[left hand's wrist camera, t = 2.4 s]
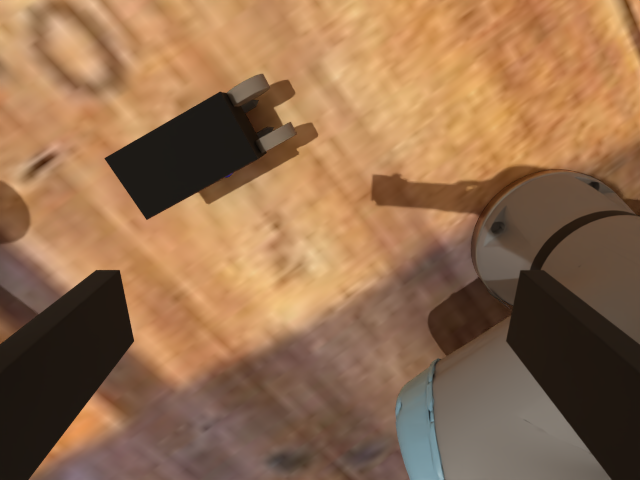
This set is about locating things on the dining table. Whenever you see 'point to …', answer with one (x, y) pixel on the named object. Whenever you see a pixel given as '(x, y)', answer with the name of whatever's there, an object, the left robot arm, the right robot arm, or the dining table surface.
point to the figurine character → (195, 149)
